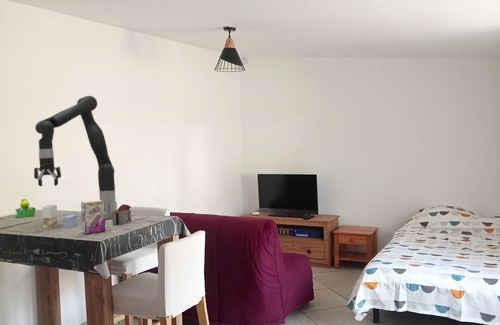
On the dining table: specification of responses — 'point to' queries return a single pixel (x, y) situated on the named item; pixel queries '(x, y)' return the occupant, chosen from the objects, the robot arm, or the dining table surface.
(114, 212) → the architectural model on board
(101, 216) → the candy bar box
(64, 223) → the blue block
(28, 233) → the dining table surface
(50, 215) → the white block
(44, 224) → the oak block
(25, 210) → the fruit basket
